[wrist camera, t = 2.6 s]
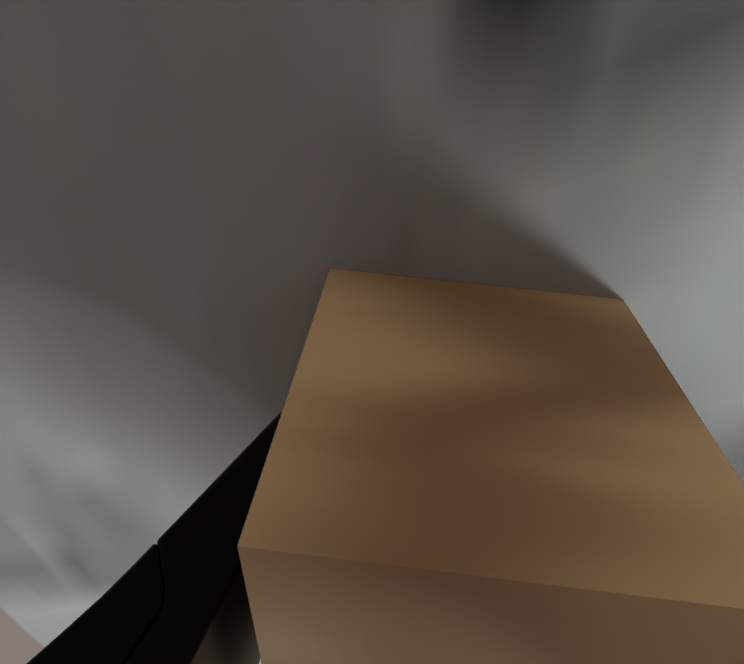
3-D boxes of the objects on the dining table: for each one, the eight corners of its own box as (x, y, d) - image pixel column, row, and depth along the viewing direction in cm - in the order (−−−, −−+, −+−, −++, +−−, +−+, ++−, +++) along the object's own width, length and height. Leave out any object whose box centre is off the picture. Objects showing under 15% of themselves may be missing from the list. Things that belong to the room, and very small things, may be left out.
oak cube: (621, 297, 8) (831, 620, 4) (537, 476, 11) (605, 761, 7) (330, 266, 8) (237, 545, 4) (327, 451, 11) (272, 716, 7)
